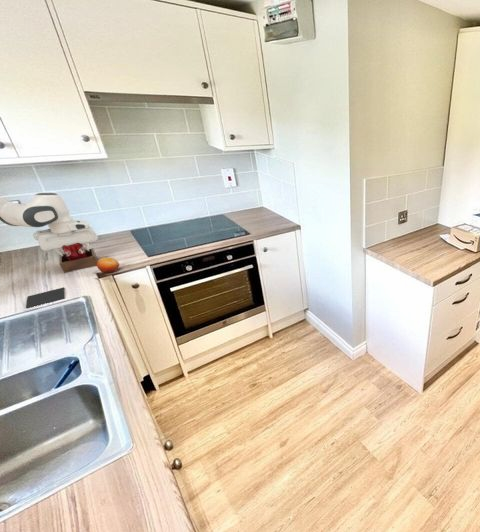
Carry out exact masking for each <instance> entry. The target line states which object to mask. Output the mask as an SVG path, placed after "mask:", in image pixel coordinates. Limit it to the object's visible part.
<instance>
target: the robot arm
mask: <svg viewBox="0 0 480 532" xmlns="http://www.w3.org/2000/svg"><path fill="white" fill-rule="evenodd" d="M0 222H2V223H4V224H5V225H8V226H12V227H26V228H28V227H29V228H43V227H45V226H48V228H47V229H42V230H36V231H35V232H33V235H32V236H33V238H34V239H35V240H36V241H37V242H38V245H39V248H40V249H41V250H42V251H44V252H45V251H46V252H47V251H50V250H54V251H55V252H56V253H58V254H59V255H61V256H66V255H65V253H64V251H62V250H60V249H62V246H63V245H67V244H73V243H77V242H78V243H80V244H85V247H84V246H83V247H84V249H85V252H86V251H89V249H90V248H89V247H90V243H93V242H97V241H98V240H99V235H98V234H97V233H96V231H95V229H94V228H93V227H92V226H91V225H90V224H89V223H88V221H87V220H80V219H79V220H77V219H74V218H73V216H72V215H71V214H70V210H69V208H68V206H67V204H66V202H65V200H64V199H63V197H62V196H61V195H60V194H59V193H55V192H38V193H35V194H34V197H33V198H32V199H31V200H29V201H28V202H27V203H17V202H12V201H9V200H6V199H4V198H3V197H2V196H0Z"/></svg>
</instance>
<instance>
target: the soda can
mask: <svg viewBox="0 0 480 532" xmlns="http://www.w3.org/2000/svg"><path fill="white" fill-rule="evenodd" d="M83 244H84V243H82V244H80V243H78V242H77V243H73V244H67V245H63V246H62V248H61V249H62V252H64V253H65V255H66V257H67V259H68V261H72V260H77V259H81V258H86V257H88V255H87V253H86V252H85V249H84V245H83Z"/></svg>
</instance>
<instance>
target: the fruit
mask: <svg viewBox="0 0 480 532" xmlns="http://www.w3.org/2000/svg"><path fill="white" fill-rule="evenodd" d="M119 267H120V263H119V261H118V260H117V259H115V258H113V257H109V256H106V257H100V258H98V262H97V266H96V268H97V269H98V271H100V272H101V273H100V275H102V274H103V273H105V274H110V273H115V272H116V271H117V270H118V269H119Z"/></svg>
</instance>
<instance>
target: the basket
mask: <svg viewBox="0 0 480 532" xmlns="http://www.w3.org/2000/svg"><path fill="white" fill-rule="evenodd" d="M86 253H87V255H88V257H86V258H81V259H77V260H72V261H68V259H67V257H66V256H61V254H59V255H58V256H59V257H58V258H59V259H58V261H59V262H58V263H59V266H60V268H61V270H62V271H63V273H64V274H66V273H71V272H75V271H79V270H83V269H88V268H89V269H90V268H92V267H97V262H98V260H99V258H98V256H97V254H96V252H95V249H94V248H93V247H91V248H89V251H86Z"/></svg>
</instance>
